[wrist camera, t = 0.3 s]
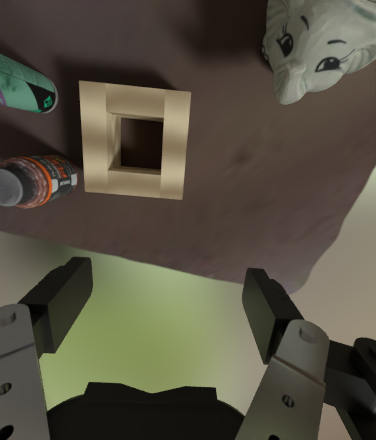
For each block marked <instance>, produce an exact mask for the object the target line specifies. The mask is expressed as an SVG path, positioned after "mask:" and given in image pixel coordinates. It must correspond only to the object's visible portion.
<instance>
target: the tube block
mask: <svg viewBox="0 0 376 440" xmlns="http://www.w3.org/2000/svg"><path fill="white" fill-rule="evenodd" d="M79 90H80V108H81V126H82V144H83V162H84V180H85V191H86V192H98V193H110V194H121V195H133V196H145V197H157V198H169V199H180V200H182V195H183V183H184V171H185V159H186V147H187V135H188V123H189V111H190V100H191V92H185V91H175V90H165V89H156V88H146V87H137V86H127V85H117V84H108V83H98V82H89V81H79ZM121 118H128V119H139V120H149V121H159V122H164V128H163V147H162V167H161V169H149V168H138V167H127V166H121Z"/></svg>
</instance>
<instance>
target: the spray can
mask: <svg viewBox="0 0 376 440" xmlns="http://www.w3.org/2000/svg"><path fill="white" fill-rule="evenodd" d="M57 102H58V92H57V89H56V87H55V85H54V83H53V82H52V81H51V80H50V79H49V78H48V77H46V76H45V75H43V74H41V73H39V72H37V71H35V70H33V69H31V68H29V67H26V66H24V65H22V64H20V63H18V62H16V61H14V60H12V59H10V58H8V57H6V56H4V55H2V54H0V105H5V106H9V107H14V108H19V109H23V110H28V111H33V112H38V113H48V112H51V111H52V110H53V109H54V108H55V107H56V105H57Z"/></svg>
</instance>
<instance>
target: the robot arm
mask: <svg viewBox="0 0 376 440" xmlns="http://www.w3.org/2000/svg"><path fill="white" fill-rule="evenodd" d="M92 288H93V279H92V265H91V259H90V258H89V257H72V258H71V259H70V261H69V262H67V263H66V265H64V266H60V267H58V268H56V269H54V270H52V271H50V272H49V273H48V274H47V275H46V276H45V277H44V279H42V280H41V281H40V282H39V283H38V285H36V286H35V287H34V288H33V289H32V290H30V291H29V292H28V293H27V294H26V295H25V296H24V297H23V298H22V299H21V300H20V301H19V302H18V303H17V304H10V305H6V306H3V307H0V440H317V439H318V432H319V425H320V419H321V413H322V407H323V403H326V404H328V405H331V406H334V407H335V408H336V410H337V412H338V414H339V415H340V418H341V420H342V421H343V423H344V425H345V427H346V429H347V431H348V433H349V435H350V437H351V439H352V440H376V340H373V339H370V338H357V339H356V340H355V342H354V345H353V347H352V346H348V345H345V344H342V343H338V342H335V341H332V340H329V338H328V336H327V334H326V333H325V332H324V331H323V330H322V329H321V328H320V327H318V326H317V325H315V324H313V323H311V322H309V321H306V320H304V318H303V316H302V315H301V313H300V312H299V311H298V309H297V308H296V306H295V305H294V303H293V302H292V300H291V299H290V297H289V296H288V294H287V293H286V291H285V290H284V288H283V287H282V285H280V284H279V283H278V282H277V281H275V280H274V279H269V277H268V275H267V274H266V272H265V270H264V269H257V268H248V269H247V272H246V277H245V282H244V288H243V293H242V301H243V306H244V310H245V313H246V315H247V318H248V321H249V324H250V327H251V329H252V332H253V335H254V338H255V341H256V344H257V347H258V350H259V352H260V355H261V358H262V361H263V364H264V365H268V367H267V369H266V371H265V374H264V376H263V378H262V380H261V382H260V385H259V387H258V389H257V392H256V394H255V396H254V398H253V400H252V403H251V405H250V407H249V409H248V411H247V414H246V416H244V415H243V414H242V413H241V412H239V411H238V410H237V409H235V408H234V407H232V406H231V405H229V404H227V403H225V402H223V401H220V400H217V394H216V388H212V387H190V386H184V387H180V388H175V389H171V390H167V391H162V392H158V393H148V392H145V391H141V390H138V389H136V388H133V387H130V386H127V385H124V384H121V383H101V382H89V383H88V385H87V388H86V391H85V393H84V394H82V395H78V396H76V397H73V398H70V399H68V400H66V401H64V402H62V403H60V404H58V405H56V406H55V407H53V408H51V409H50V410H49V411H47V406H46V400H45V395H44V389H43V383H42V377H41V371H40V365H39V359H40V357H41V356H42V354H43V353H55V352H56V351H57V349H58V348H59V346H60V344H61V343H62V341H63V340H64V338H65V336H66V335H67V333H68V331H69V330H70V328H71V326H72V325H73V323H74V322H75V320H76V318H77V317H78V315H79V314H80V312H81V310H82V309H83V307H84V306H85V304H86V302H87V301H88V299H89V297H90V295H91V292H92Z"/></svg>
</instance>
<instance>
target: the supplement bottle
mask: <svg viewBox="0 0 376 440" xmlns="http://www.w3.org/2000/svg"><path fill="white" fill-rule="evenodd" d="M78 182H79V175H78V171H77V169H76V167H75V165H74V164H73V163H72V162H71V161H70V160H69V159H67V158H65V157H63V156H60V155H44V154H43V155H40V156H25V157H23V156H22V157H14V158H9V159H7V160H5V161H3V162H2V163H1V164H0V205H2V206H17V207H21V208H33V207H37V206H39V205H42V204H45V203H47V202H49V201H52V200H55V199H57V198H59V197H62V196H64V195H67V194H69V193H71V192H72V191H74V190H75V188H76V187H77V185H78Z"/></svg>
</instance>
